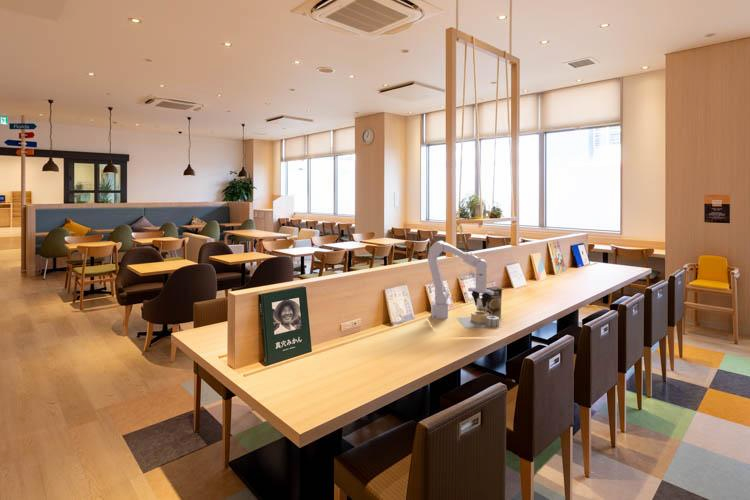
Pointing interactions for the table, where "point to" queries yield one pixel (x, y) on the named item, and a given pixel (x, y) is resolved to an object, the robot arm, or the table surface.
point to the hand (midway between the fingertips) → (480, 305)
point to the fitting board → (473, 324)
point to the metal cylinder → (480, 304)
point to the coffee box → (494, 302)
